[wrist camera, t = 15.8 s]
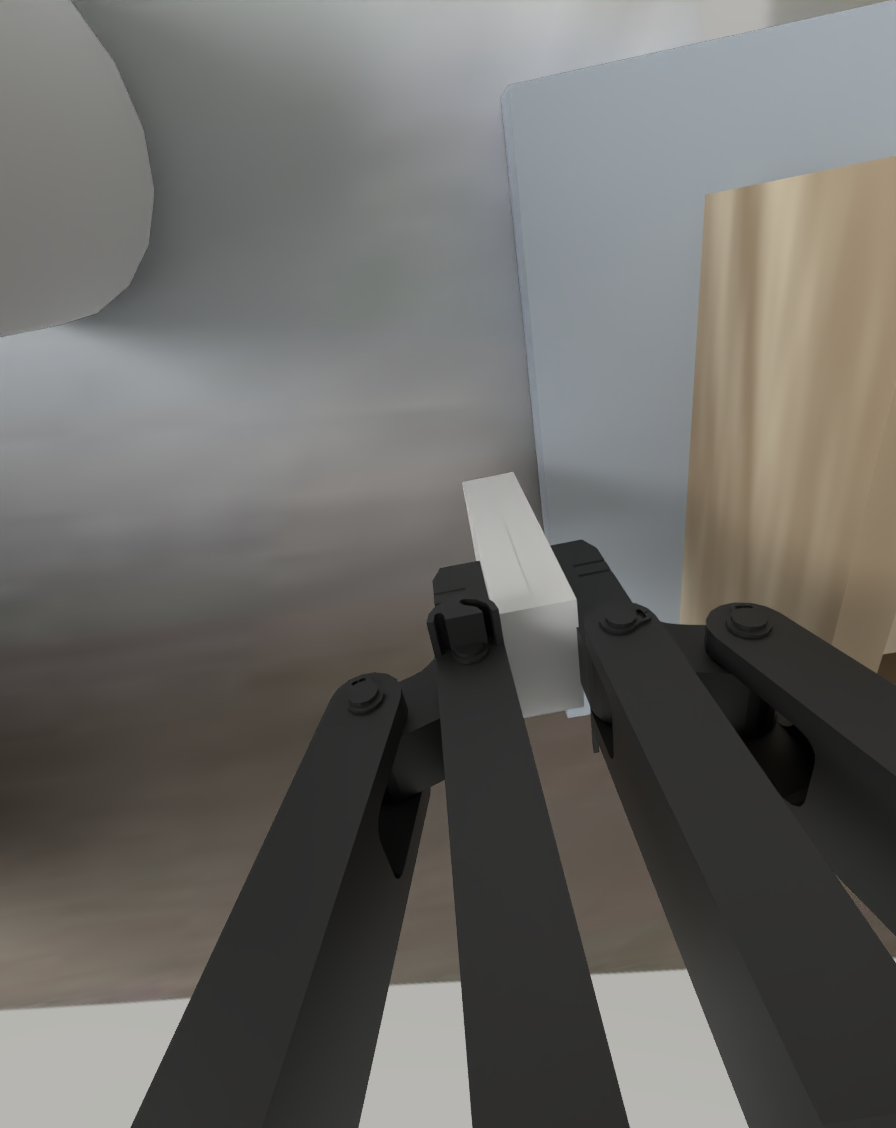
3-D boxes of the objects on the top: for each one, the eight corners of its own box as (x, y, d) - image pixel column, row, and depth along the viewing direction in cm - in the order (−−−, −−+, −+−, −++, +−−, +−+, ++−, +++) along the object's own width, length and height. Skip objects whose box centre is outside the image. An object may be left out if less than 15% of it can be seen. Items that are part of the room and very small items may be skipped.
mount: (560, 697, 23) (588, 780, 19) (500, 98, 13) (534, 38, 9) (892, 639, 22) (985, 714, 19) (1099, -34, 12) (1384, -154, 9)
